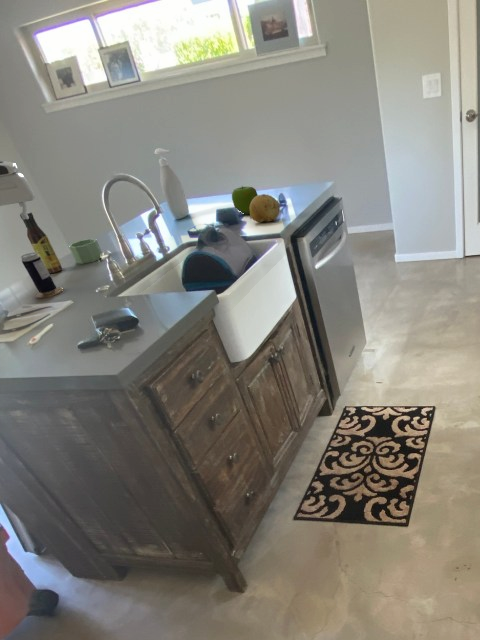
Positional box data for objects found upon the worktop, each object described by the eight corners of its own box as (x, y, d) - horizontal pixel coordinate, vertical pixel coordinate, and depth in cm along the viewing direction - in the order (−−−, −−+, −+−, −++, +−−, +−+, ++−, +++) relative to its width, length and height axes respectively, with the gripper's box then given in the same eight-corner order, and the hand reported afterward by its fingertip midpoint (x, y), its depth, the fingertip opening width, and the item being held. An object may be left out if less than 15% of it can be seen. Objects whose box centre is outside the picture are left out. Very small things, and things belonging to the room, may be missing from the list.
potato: (257, 219, 221) (250, 193, 214) (285, 217, 218) (279, 190, 211) (249, 226, 213) (242, 199, 207) (277, 224, 211) (271, 196, 204)
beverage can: (54, 288, 180) (34, 251, 172) (60, 290, 176) (40, 253, 168) (38, 293, 177) (17, 256, 169) (43, 296, 174) (22, 258, 166)
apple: (233, 217, 229) (225, 189, 222) (243, 211, 237) (235, 183, 230) (255, 215, 227) (248, 187, 219) (265, 209, 234) (258, 181, 227)
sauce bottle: (58, 273, 195) (28, 214, 182) (43, 275, 196) (11, 216, 182) (66, 267, 200) (37, 210, 187) (51, 269, 201) (21, 212, 187)
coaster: (33, 300, 173) (32, 299, 173) (39, 291, 180) (38, 290, 180) (60, 294, 174) (60, 293, 174) (65, 286, 181) (65, 285, 181)
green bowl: (75, 265, 201) (67, 248, 197) (79, 258, 208) (72, 242, 204) (101, 260, 202) (93, 243, 198) (104, 253, 209) (97, 237, 205)
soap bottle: (183, 220, 237) (159, 150, 219) (168, 222, 239) (143, 152, 220) (198, 212, 247) (176, 144, 229) (183, 213, 249) (160, 146, 231)
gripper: (-59, 177, 149) (-28, 230, 159) (15, 165, 152) (41, 218, 161) (-51, 174, 154) (-22, 225, 163) (21, 162, 156) (46, 213, 166)
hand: (10, 221), depth 162 cm, fingers open, 8 cm apart
